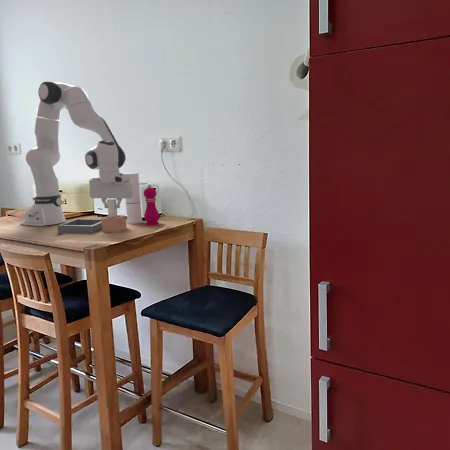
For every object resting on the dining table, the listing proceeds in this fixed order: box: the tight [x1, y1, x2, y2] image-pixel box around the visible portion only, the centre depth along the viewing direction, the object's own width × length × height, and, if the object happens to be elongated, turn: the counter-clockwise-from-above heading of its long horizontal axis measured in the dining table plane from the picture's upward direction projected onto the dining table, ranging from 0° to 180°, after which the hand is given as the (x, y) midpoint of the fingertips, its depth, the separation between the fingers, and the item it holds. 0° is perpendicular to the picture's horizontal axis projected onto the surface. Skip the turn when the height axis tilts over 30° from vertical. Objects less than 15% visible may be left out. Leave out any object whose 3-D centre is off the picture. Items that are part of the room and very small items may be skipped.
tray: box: [56, 218, 102, 235], centre depth 222 cm, size 18×16×4 cm
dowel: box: [106, 198, 119, 218], centre depth 215 cm, size 4×4×13 cm
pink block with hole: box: [100, 214, 128, 233], centre depth 216 cm, size 8×8×7 cm
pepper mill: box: [143, 184, 160, 227], centre depth 224 cm, size 7×7×20 cm
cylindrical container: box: [122, 171, 143, 225], centre depth 230 cm, size 7×7×25 cm
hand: (112, 208), depth 215 cm, fingers closed on dowel, 4 cm apart
